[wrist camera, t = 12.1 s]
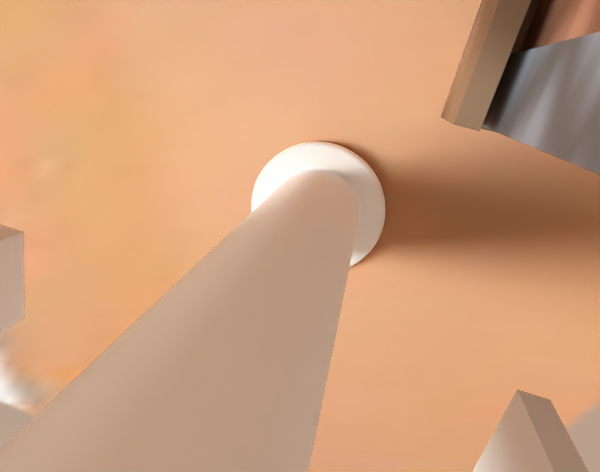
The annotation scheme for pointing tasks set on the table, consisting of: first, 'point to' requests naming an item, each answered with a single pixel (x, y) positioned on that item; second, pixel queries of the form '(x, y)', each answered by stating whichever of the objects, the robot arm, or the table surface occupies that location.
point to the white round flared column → (226, 340)
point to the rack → (533, 77)
